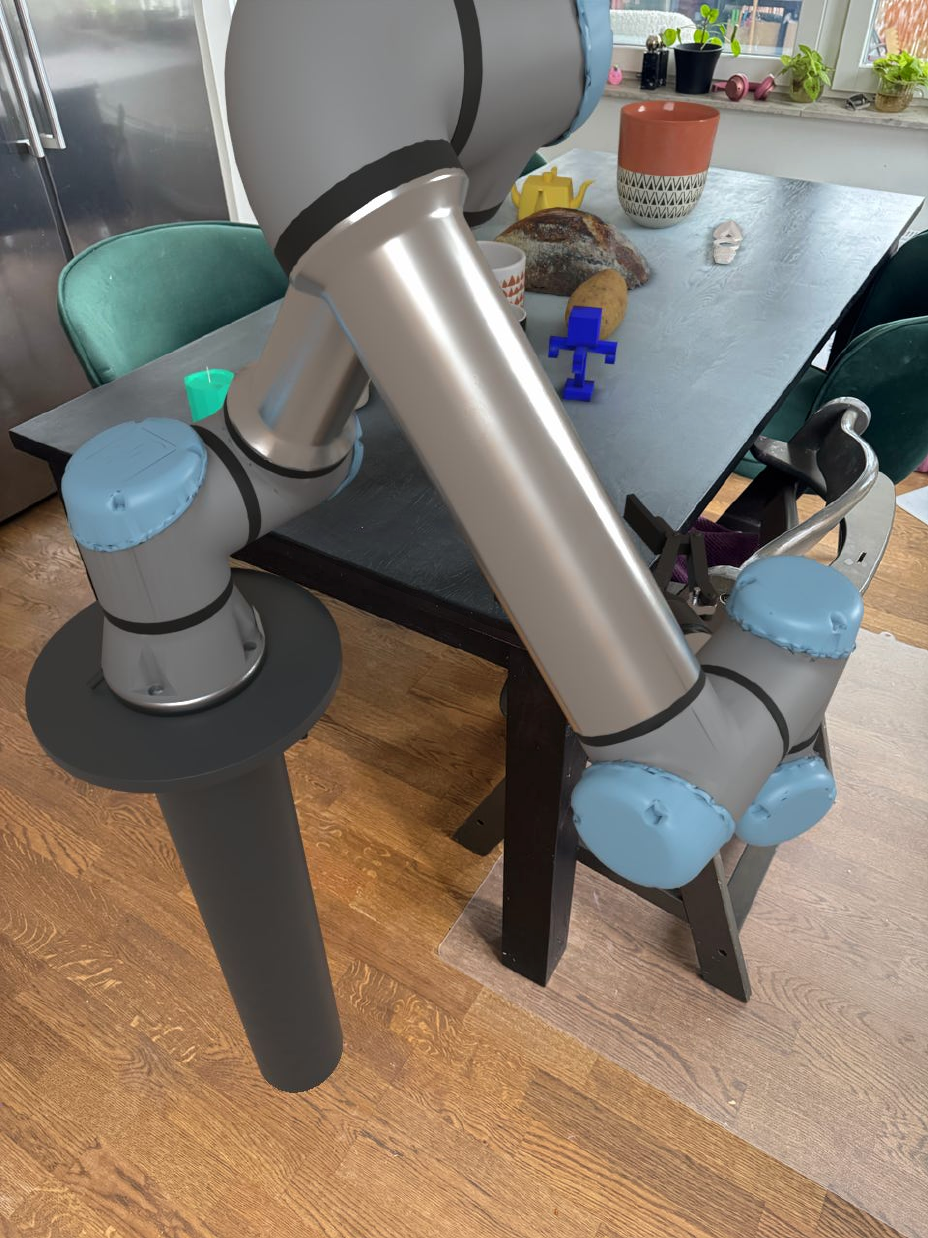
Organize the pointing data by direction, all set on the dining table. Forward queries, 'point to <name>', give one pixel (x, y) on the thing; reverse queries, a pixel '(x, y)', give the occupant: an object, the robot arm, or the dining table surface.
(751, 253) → the dining table surface
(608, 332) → the potato
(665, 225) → the planter
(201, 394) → the candle
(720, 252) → the white lumpy piece
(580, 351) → the figurine
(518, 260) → the white patterned cup
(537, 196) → the teapot
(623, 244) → the bread
